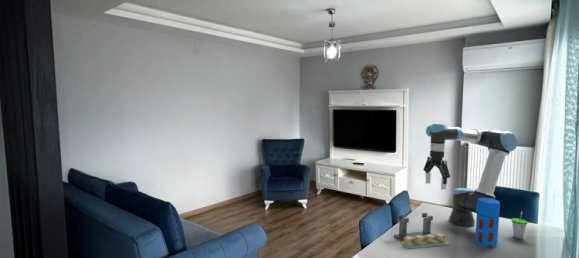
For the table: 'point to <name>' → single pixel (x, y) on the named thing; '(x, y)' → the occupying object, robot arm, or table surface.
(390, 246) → the table surface
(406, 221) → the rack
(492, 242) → the thermos
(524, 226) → the cup
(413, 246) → the mat
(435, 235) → the rail
